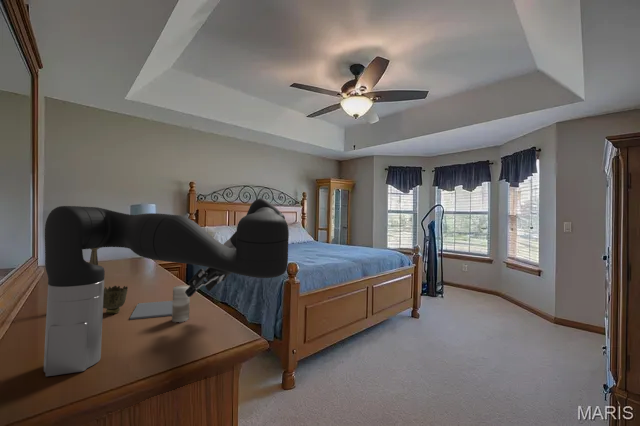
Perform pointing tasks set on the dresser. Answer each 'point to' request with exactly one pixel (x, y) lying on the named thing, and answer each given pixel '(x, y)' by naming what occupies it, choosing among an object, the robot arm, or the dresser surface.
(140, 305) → the slate mat
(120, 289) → the cup
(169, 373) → the dresser surface
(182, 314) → the cream peg
